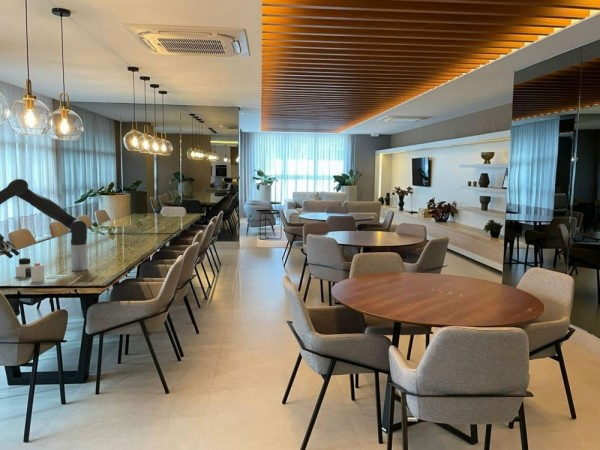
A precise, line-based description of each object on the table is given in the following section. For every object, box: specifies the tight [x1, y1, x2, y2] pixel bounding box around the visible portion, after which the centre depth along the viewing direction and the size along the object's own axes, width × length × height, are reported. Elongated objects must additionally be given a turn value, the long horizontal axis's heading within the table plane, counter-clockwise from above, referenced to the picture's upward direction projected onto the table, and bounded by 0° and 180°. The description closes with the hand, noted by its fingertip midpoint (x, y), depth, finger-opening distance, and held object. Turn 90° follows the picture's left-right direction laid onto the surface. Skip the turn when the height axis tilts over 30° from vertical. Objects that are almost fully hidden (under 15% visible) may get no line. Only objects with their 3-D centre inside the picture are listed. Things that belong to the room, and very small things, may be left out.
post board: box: [26, 273, 69, 283], centre depth 278 cm, size 19×15×5 cm
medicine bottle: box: [15, 257, 33, 278], centre depth 283 cm, size 7×7×12 cm
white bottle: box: [30, 262, 45, 281], centre depth 272 cm, size 5×5×10 cm
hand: (15, 256), depth 269 cm, fingers open, 8 cm apart
